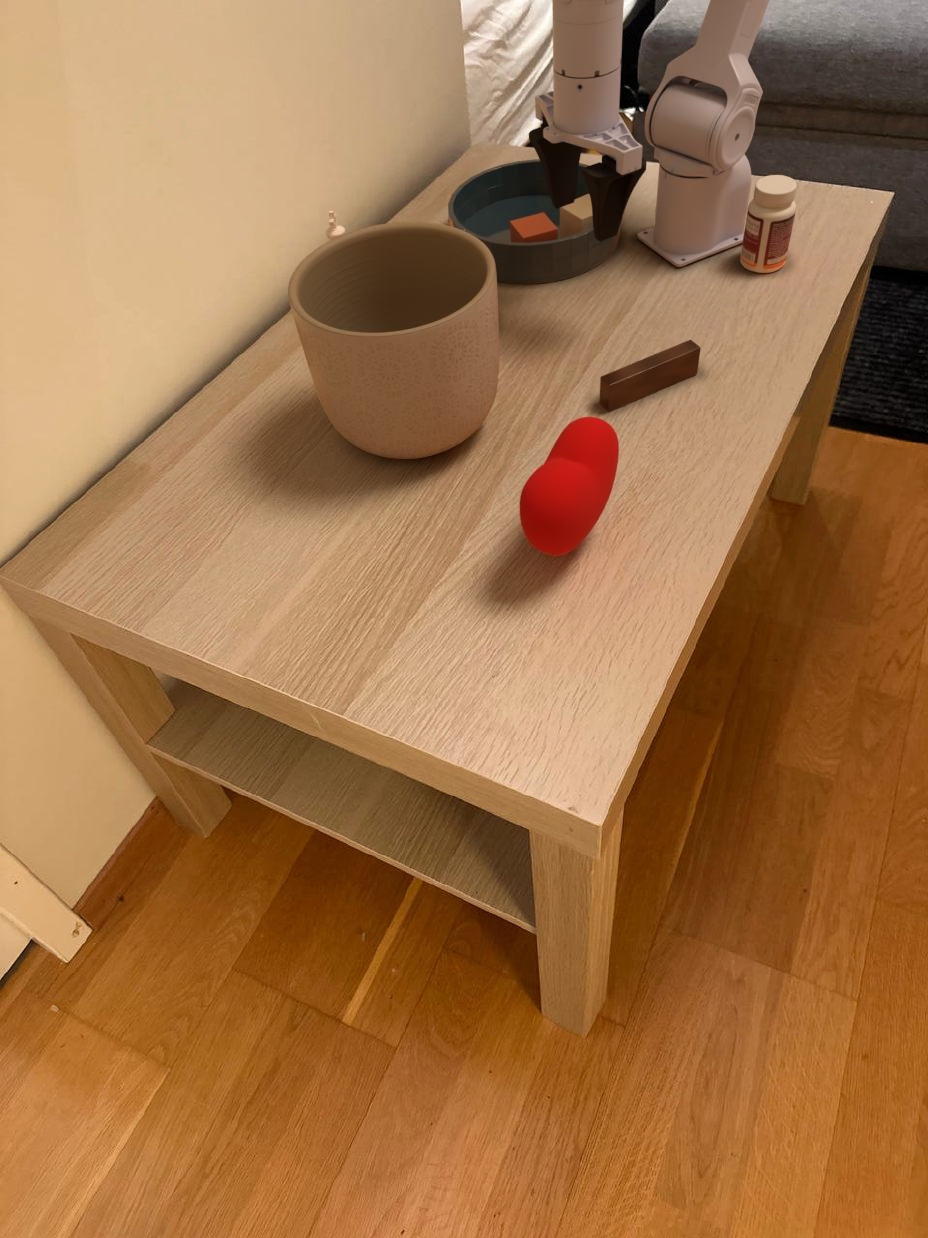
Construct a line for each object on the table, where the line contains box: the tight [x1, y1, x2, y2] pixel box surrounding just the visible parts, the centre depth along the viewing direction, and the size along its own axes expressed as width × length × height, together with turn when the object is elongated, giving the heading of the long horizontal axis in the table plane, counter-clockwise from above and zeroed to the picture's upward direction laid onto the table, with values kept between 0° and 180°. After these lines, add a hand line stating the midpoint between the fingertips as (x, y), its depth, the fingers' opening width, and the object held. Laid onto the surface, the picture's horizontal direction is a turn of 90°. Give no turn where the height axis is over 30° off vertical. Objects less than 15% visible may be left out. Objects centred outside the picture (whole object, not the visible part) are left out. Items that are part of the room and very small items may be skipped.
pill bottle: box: [739, 174, 798, 274], centre depth 93 cm, size 5×5×8 cm
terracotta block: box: [510, 212, 558, 243], centre depth 98 cm, size 4×4×4 cm
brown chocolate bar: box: [599, 339, 702, 412], centre depth 83 cm, size 10×2×3 cm, turn 118°
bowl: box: [447, 158, 621, 285], centre depth 101 cm, size 19×19×4 cm
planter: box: [287, 221, 500, 460], centre depth 78 cm, size 17×17×15 cm
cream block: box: [560, 194, 593, 238], centre depth 99 cm, size 4×4×4 cm
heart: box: [519, 416, 620, 557], centre depth 69 cm, size 12×5×10 cm, turn 151°
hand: (584, 220), depth 86 cm, fingers open, 7 cm apart
